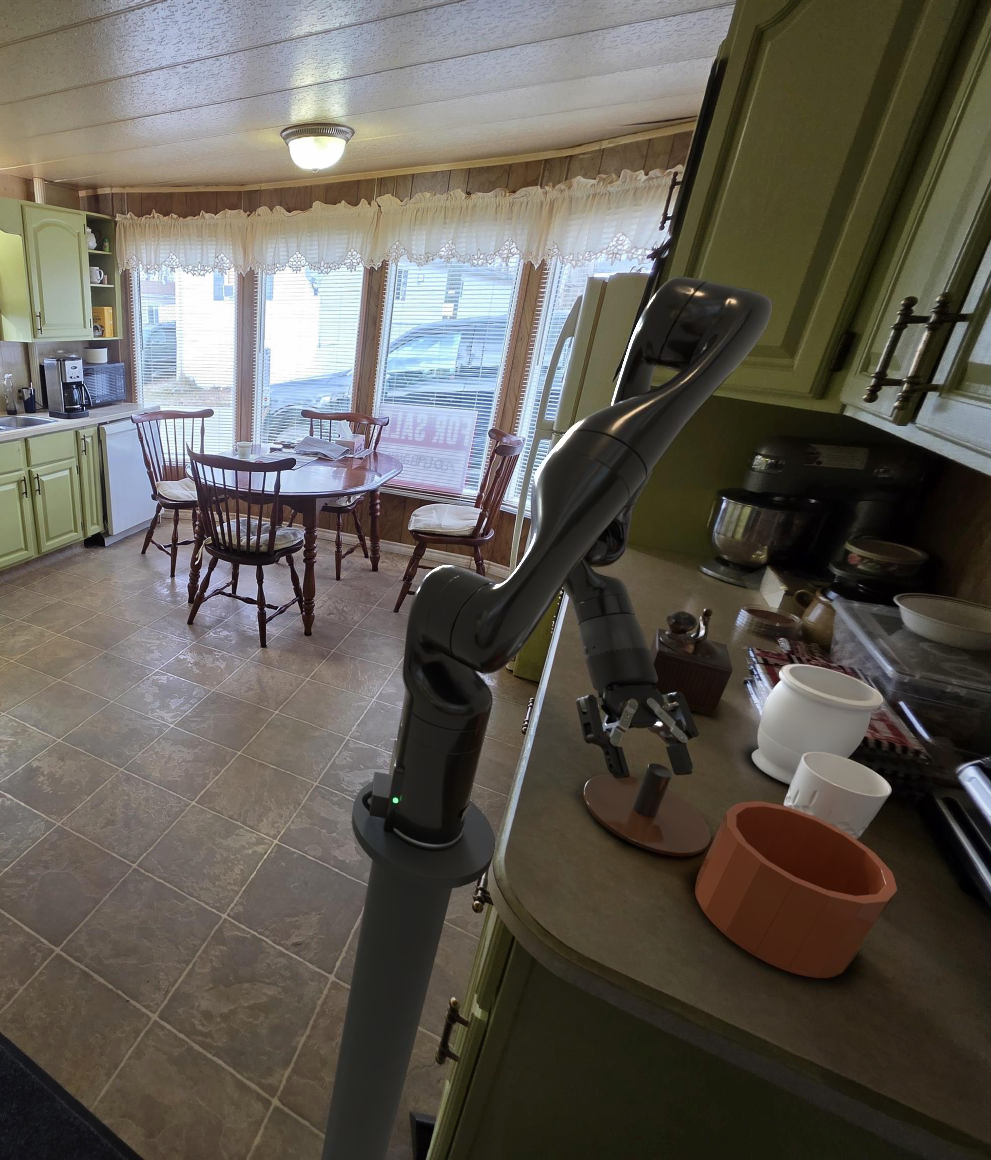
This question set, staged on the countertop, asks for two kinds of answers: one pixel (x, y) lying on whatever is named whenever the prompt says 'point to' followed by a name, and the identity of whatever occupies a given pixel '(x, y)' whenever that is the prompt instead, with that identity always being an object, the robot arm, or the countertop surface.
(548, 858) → the countertop surface
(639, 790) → the lid
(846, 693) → the jar
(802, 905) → the crock
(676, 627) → the manual coffee grinder
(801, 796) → the white cup
